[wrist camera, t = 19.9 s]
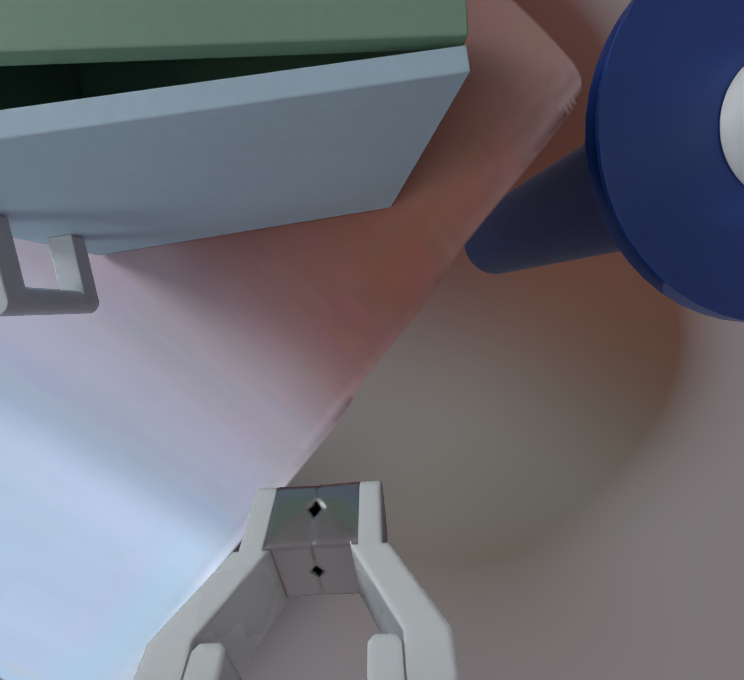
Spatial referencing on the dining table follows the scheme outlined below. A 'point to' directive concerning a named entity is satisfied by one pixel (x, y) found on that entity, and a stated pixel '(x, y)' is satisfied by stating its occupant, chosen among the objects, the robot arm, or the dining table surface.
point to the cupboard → (200, 41)
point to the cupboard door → (209, 162)
